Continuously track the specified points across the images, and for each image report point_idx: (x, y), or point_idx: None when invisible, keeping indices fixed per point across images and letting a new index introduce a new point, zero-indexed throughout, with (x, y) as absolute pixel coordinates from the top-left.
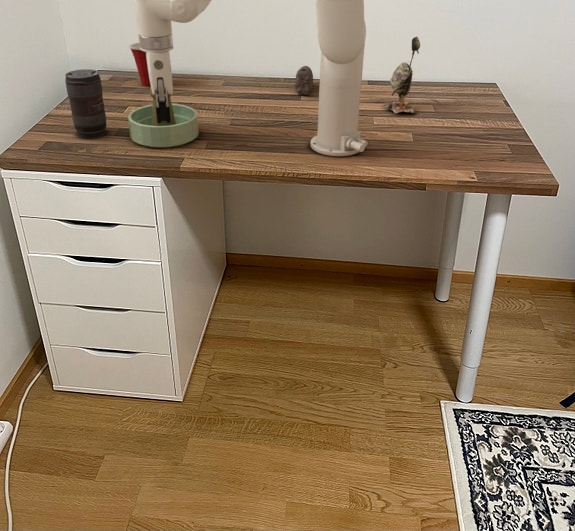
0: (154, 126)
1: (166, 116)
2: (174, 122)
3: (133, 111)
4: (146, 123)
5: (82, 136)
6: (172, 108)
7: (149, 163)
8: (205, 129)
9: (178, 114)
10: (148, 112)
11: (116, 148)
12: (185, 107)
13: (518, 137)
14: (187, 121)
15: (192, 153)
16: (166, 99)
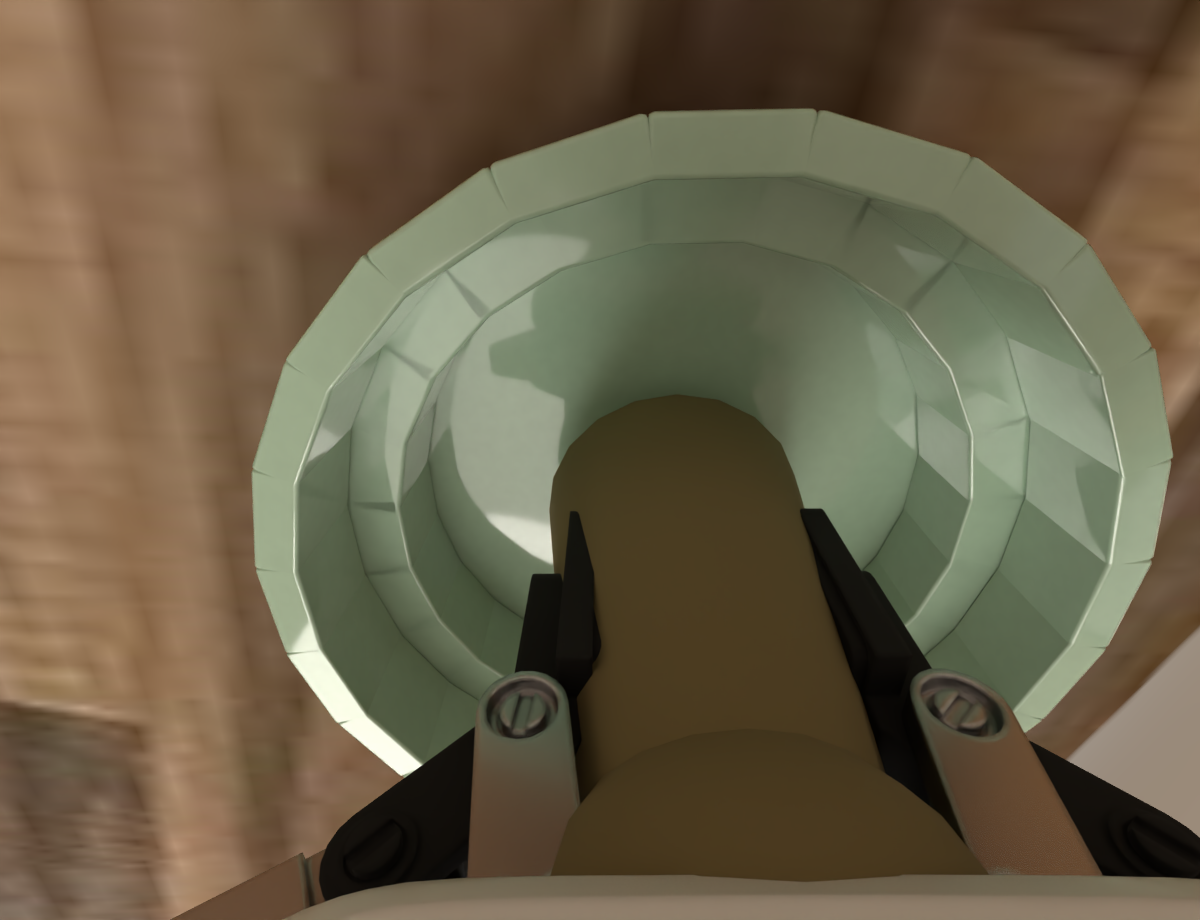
0: (1056, 689)
1: (880, 600)
2: (744, 450)
3: None
4: (498, 634)
5: None
6: (726, 555)
7: (1180, 583)
8: (529, 13)
9: (370, 378)
10: (408, 677)
11: None
12: (396, 312)
13: None
14: (1096, 320)
15: (1195, 241)
16: (1058, 829)
